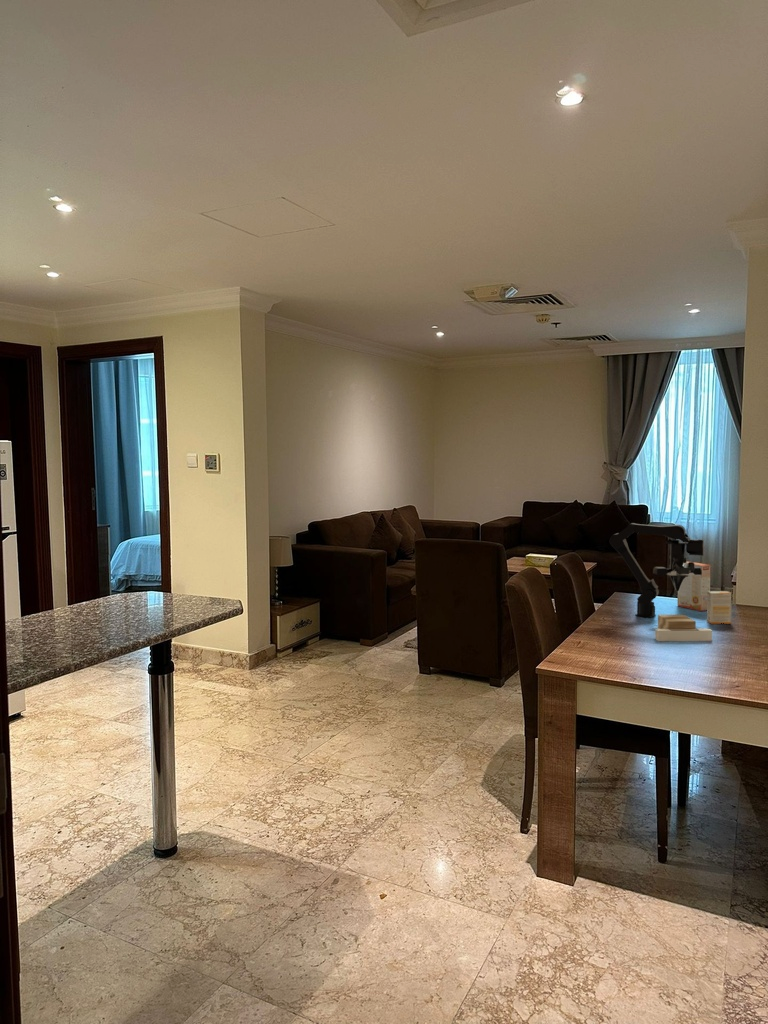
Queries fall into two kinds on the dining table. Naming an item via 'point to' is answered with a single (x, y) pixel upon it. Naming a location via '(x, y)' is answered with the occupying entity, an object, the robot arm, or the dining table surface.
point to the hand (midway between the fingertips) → (677, 590)
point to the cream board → (683, 634)
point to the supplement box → (719, 607)
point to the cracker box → (695, 589)
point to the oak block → (675, 622)
